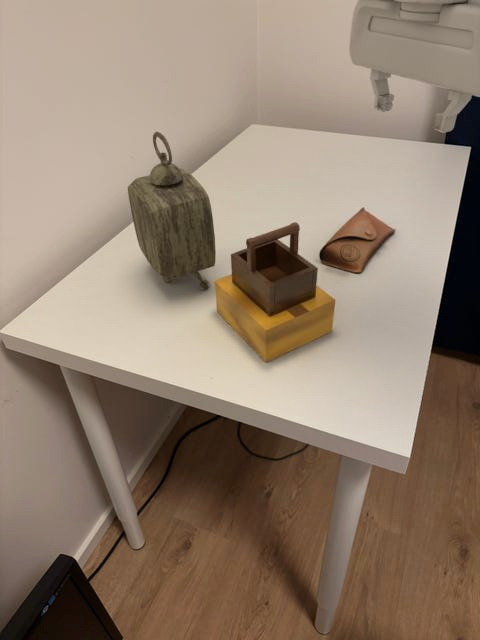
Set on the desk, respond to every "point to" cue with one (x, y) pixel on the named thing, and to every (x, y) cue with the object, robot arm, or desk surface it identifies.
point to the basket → (274, 271)
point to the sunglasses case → (355, 242)
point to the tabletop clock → (173, 219)
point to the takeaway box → (274, 320)
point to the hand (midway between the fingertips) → (411, 119)
